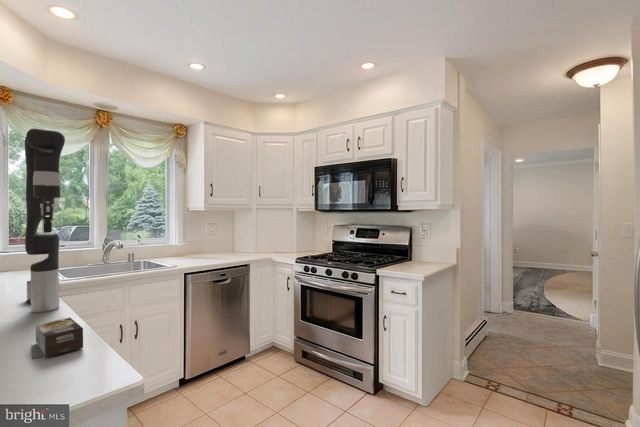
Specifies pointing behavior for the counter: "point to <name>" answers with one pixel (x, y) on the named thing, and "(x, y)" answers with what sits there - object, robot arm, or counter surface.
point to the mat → (36, 351)
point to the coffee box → (59, 336)
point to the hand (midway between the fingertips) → (47, 232)
